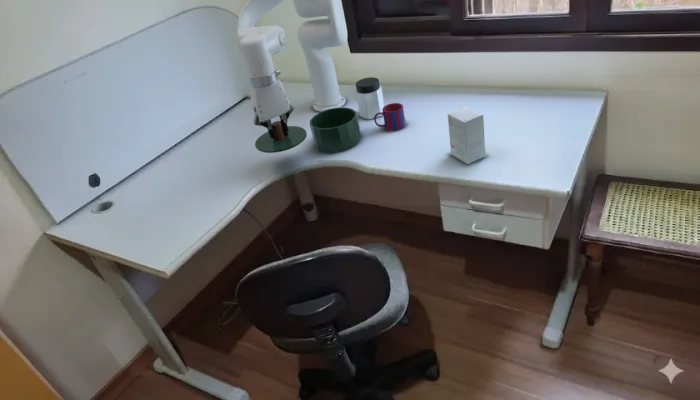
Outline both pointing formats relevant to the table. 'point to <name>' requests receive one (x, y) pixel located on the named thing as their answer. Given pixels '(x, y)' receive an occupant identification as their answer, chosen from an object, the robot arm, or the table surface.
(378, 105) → the jar
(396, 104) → the mug
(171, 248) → the table surface
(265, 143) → the tin lid
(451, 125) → the small box
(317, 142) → the tin
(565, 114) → the table surface
